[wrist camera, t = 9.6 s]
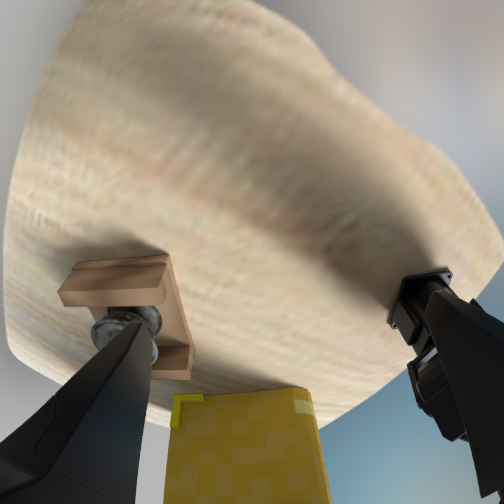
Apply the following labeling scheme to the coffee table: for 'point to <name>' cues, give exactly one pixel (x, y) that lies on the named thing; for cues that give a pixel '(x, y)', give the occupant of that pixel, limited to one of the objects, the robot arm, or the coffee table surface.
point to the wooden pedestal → (137, 303)
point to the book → (245, 449)
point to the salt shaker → (120, 318)
